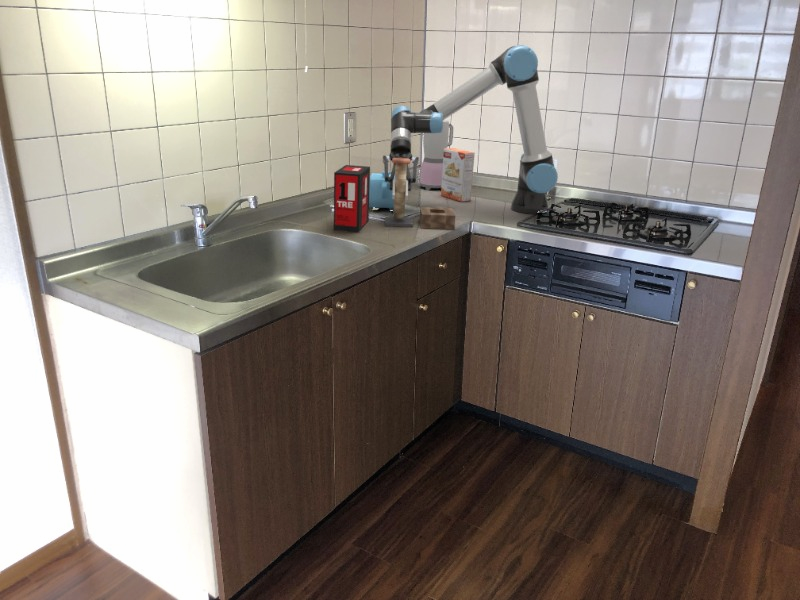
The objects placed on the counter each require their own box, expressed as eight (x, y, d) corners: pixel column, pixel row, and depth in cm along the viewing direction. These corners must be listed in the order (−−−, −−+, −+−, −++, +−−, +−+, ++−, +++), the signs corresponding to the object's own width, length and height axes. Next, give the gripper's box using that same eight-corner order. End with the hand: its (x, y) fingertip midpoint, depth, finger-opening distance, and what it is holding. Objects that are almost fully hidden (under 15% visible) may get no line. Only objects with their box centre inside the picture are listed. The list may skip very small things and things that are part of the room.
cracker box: (439, 196, 289) (443, 148, 281) (450, 194, 292) (453, 147, 284) (460, 202, 278) (464, 152, 271) (471, 201, 281) (475, 152, 274)
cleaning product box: (358, 232, 226) (360, 174, 218) (333, 230, 227) (334, 172, 220) (368, 221, 241) (370, 166, 234) (345, 219, 242) (345, 164, 235)
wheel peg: (407, 215, 242) (410, 158, 235) (407, 220, 236) (410, 161, 229) (389, 215, 242) (392, 157, 235) (390, 219, 236) (392, 160, 229)
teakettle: (383, 216, 249) (384, 177, 244) (351, 206, 262) (352, 169, 256) (417, 209, 262) (420, 173, 256) (385, 201, 274) (387, 165, 269)
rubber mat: (411, 220, 245) (411, 217, 245) (412, 227, 236) (412, 224, 235) (384, 219, 244) (385, 216, 244) (385, 225, 235) (385, 223, 235)
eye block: (451, 221, 246) (452, 208, 245) (454, 229, 235) (455, 215, 233) (419, 219, 246) (420, 206, 244) (421, 228, 235) (422, 214, 233)
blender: (428, 191, 296) (433, 118, 285) (414, 186, 306) (417, 115, 295) (456, 189, 304) (462, 118, 293) (441, 184, 314) (446, 115, 303)
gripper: (422, 151, 246) (422, 204, 237) (377, 149, 245) (376, 202, 236) (424, 138, 239) (424, 192, 230) (378, 136, 238) (376, 190, 229)
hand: (400, 197), depth 233 cm, fingers closed on wheel peg, 4 cm apart
